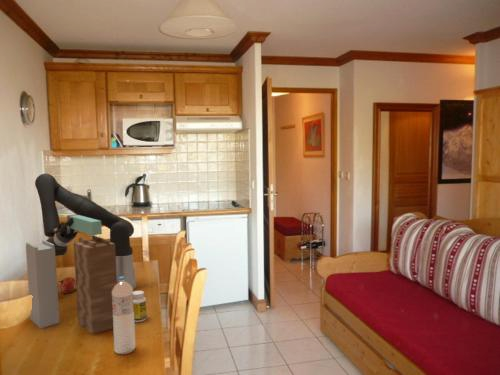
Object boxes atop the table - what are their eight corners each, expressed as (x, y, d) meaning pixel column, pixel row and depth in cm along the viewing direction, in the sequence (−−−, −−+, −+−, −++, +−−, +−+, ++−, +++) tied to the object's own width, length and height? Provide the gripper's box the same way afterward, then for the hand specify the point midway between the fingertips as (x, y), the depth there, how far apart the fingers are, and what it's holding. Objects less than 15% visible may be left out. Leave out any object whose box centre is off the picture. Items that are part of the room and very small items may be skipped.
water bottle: (117, 345, 141) (113, 274, 139) (137, 344, 141) (134, 273, 139) (112, 355, 134) (108, 280, 132) (133, 354, 135) (130, 279, 133)
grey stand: (30, 319, 165) (25, 242, 162) (49, 314, 170) (44, 240, 167) (40, 328, 156) (35, 247, 154) (59, 323, 161) (54, 244, 158)
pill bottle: (142, 323, 159) (141, 295, 158) (127, 322, 160) (126, 294, 159) (149, 317, 165) (148, 290, 164) (135, 316, 166) (134, 289, 166)
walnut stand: (78, 323, 160) (73, 238, 157) (103, 316, 167) (99, 234, 164) (93, 334, 150) (88, 244, 147) (119, 326, 157) (114, 239, 154)
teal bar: (67, 227, 170) (66, 215, 169) (76, 226, 172) (75, 214, 172) (92, 235, 153) (91, 222, 152) (101, 233, 155) (101, 220, 155)
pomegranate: (71, 293, 202) (53, 284, 197) (80, 280, 204) (62, 271, 198) (74, 299, 196) (55, 290, 191) (83, 286, 197) (65, 277, 192)
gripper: (45, 229, 174) (57, 212, 162) (79, 224, 183) (92, 208, 172) (49, 245, 172) (61, 230, 160) (83, 240, 181) (97, 225, 170)
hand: (77, 219), depth 166 cm, fingers closed on teal bar, 3 cm apart
